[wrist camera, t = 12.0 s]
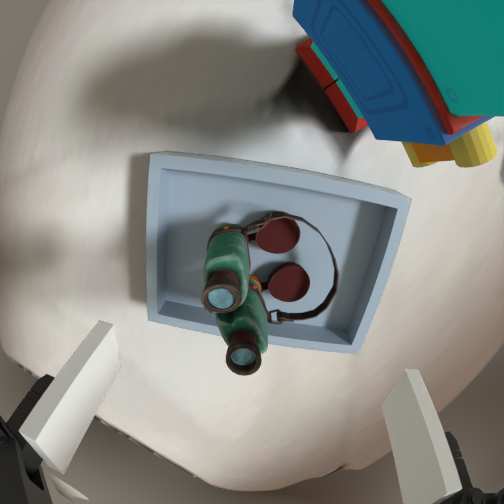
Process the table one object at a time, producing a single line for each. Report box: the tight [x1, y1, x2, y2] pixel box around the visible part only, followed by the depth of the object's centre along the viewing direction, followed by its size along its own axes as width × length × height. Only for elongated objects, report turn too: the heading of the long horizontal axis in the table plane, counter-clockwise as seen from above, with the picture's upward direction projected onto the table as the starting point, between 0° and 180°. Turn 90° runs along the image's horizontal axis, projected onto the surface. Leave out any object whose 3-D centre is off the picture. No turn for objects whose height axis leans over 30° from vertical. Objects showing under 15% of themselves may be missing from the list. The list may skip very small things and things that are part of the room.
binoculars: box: [201, 211, 339, 375], centre depth 21 cm, size 9×11×10 cm
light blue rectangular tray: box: [146, 151, 412, 354], centre depth 25 cm, size 15×20×4 cm
